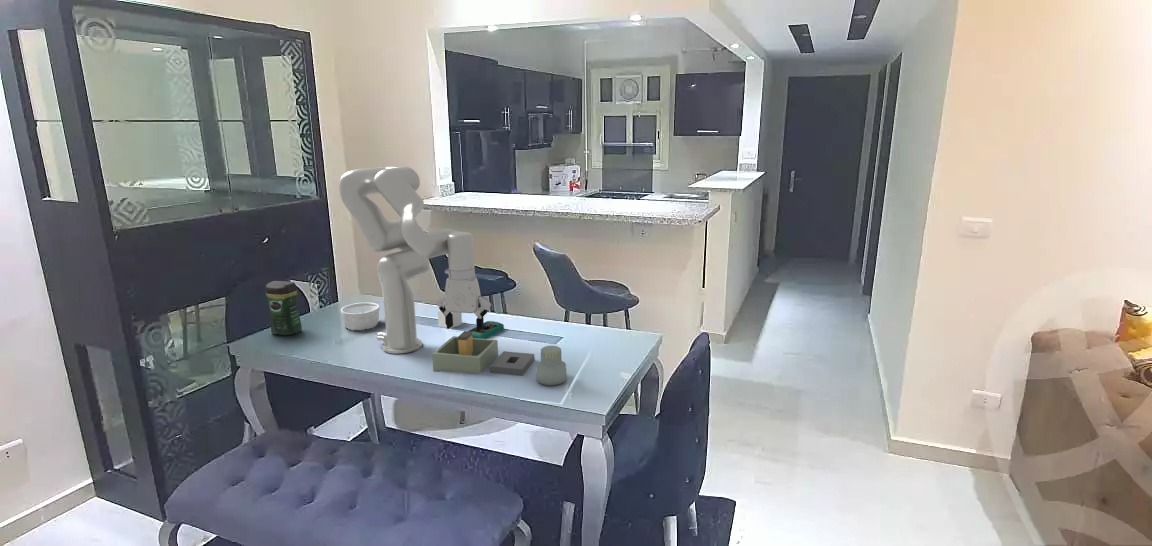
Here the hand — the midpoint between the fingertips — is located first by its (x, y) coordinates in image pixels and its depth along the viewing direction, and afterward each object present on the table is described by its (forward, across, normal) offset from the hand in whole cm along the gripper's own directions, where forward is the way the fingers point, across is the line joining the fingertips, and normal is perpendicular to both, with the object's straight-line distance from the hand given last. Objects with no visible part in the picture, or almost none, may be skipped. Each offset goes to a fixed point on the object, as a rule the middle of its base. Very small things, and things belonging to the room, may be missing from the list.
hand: (464, 328), depth 184 cm
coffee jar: (+12, -73, +12) cm, 75 cm away
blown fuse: (+11, 0, 0) cm, 11 cm away
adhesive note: (+12, -20, +32) cm, 39 cm away
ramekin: (+12, -51, +24) cm, 58 cm away
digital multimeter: (+12, -4, +26) cm, 29 cm away
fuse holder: (+11, +15, 0) cm, 19 cm away
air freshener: (+12, +29, -7) cm, 32 cm away
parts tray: (+11, 0, 0) cm, 11 cm away
